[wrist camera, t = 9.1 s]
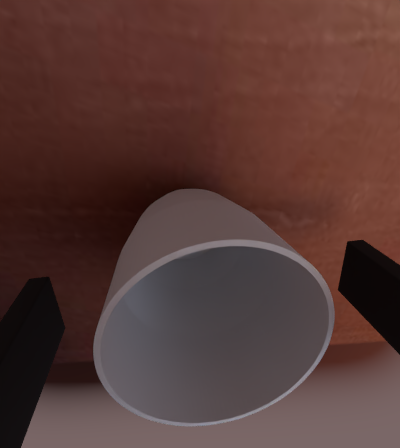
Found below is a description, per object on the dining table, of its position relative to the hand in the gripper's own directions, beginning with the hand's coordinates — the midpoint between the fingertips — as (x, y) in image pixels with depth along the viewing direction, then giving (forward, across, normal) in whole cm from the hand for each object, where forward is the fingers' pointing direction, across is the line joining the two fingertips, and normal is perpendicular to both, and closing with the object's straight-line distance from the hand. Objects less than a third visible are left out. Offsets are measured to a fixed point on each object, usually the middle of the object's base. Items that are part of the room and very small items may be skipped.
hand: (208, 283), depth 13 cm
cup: (+7, 0, 0) cm, 7 cm away
